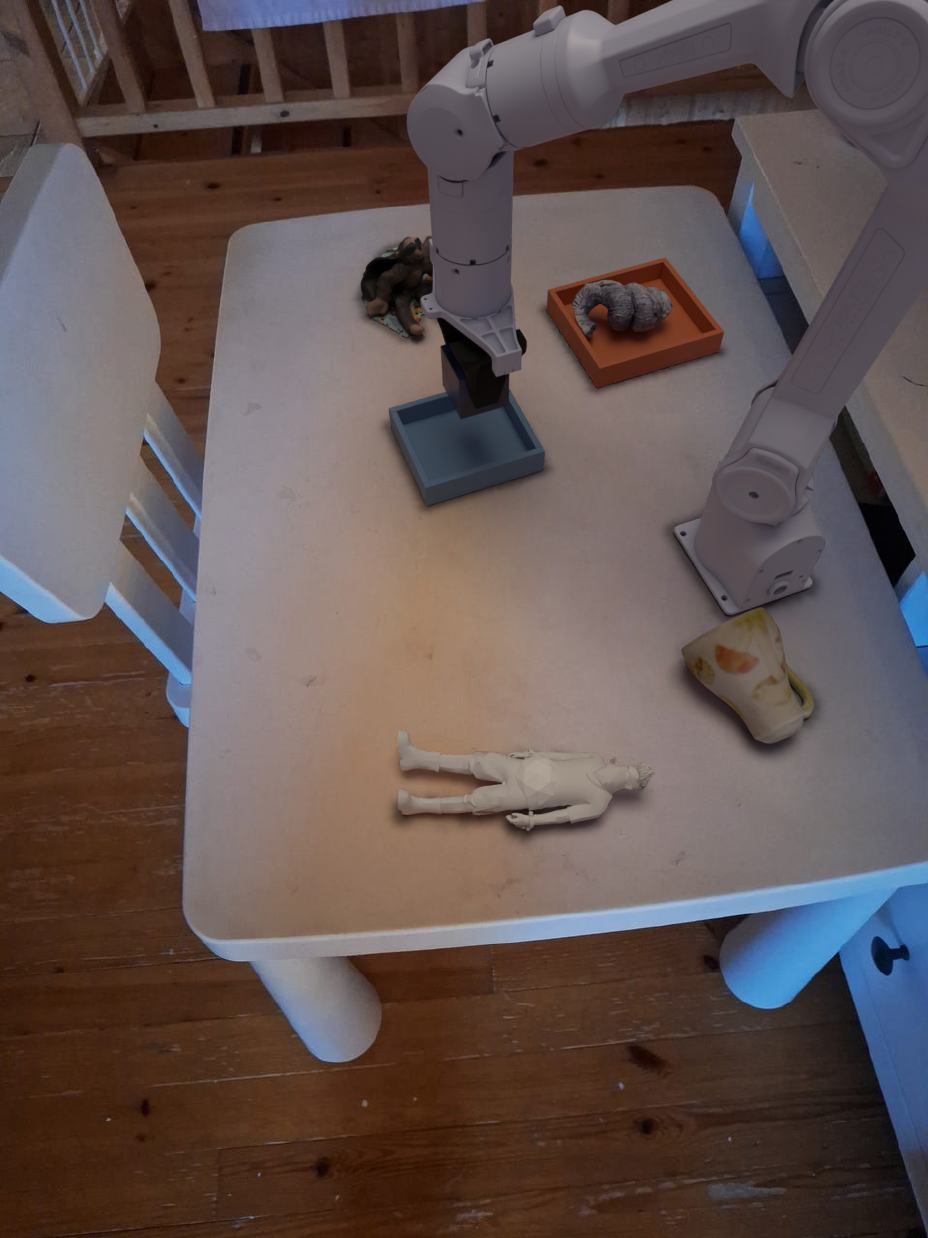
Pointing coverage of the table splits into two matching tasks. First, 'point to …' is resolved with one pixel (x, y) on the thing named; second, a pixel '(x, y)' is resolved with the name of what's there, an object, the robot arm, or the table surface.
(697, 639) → the mug
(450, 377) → the blue block
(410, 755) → the figurine
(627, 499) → the table surface
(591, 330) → the grey curved piece
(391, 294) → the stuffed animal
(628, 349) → the terracotta tray
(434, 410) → the blue tray
